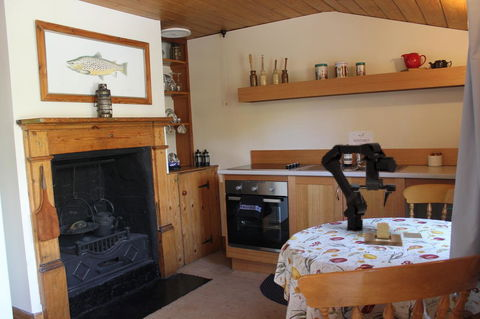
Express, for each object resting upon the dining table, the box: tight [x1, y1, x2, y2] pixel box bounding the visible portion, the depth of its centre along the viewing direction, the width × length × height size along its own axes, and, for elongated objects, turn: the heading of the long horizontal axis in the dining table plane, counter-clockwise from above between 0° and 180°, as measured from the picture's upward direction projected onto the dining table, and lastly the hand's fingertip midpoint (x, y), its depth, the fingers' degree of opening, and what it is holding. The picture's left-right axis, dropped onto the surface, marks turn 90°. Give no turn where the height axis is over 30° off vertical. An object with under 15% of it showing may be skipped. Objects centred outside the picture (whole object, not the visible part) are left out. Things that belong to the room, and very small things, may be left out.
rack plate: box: [364, 232, 403, 250], centre depth 165 cm, size 14×12×3 cm
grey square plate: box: [402, 232, 423, 239], centre depth 172 cm, size 7×8×1 cm
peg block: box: [376, 222, 390, 240], centre depth 165 cm, size 4×4×8 cm
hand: (372, 206), depth 179 cm, fingers open, 9 cm apart
